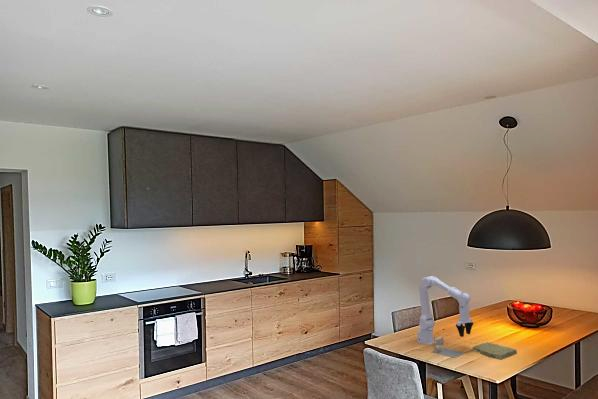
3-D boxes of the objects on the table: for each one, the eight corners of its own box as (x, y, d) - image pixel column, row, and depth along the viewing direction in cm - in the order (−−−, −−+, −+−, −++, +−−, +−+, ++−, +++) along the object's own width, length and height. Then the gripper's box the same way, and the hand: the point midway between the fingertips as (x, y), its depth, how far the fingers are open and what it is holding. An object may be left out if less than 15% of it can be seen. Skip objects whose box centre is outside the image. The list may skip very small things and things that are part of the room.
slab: (434, 352, 277) (434, 339, 277) (440, 349, 282) (439, 336, 282) (438, 352, 275) (437, 339, 275) (443, 350, 280) (443, 337, 280)
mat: (430, 353, 277) (430, 352, 277) (440, 348, 286) (440, 347, 286) (455, 358, 265) (455, 358, 265) (465, 353, 274) (465, 352, 274)
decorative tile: (486, 346, 288) (486, 340, 288) (517, 354, 272) (517, 348, 272) (469, 352, 277) (469, 346, 277) (500, 361, 261) (500, 355, 261)
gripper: (464, 316, 271) (464, 339, 270) (476, 312, 280) (477, 334, 280) (453, 314, 276) (454, 336, 276) (465, 310, 285) (466, 331, 285)
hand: (465, 335), depth 278 cm, fingers open, 7 cm apart
